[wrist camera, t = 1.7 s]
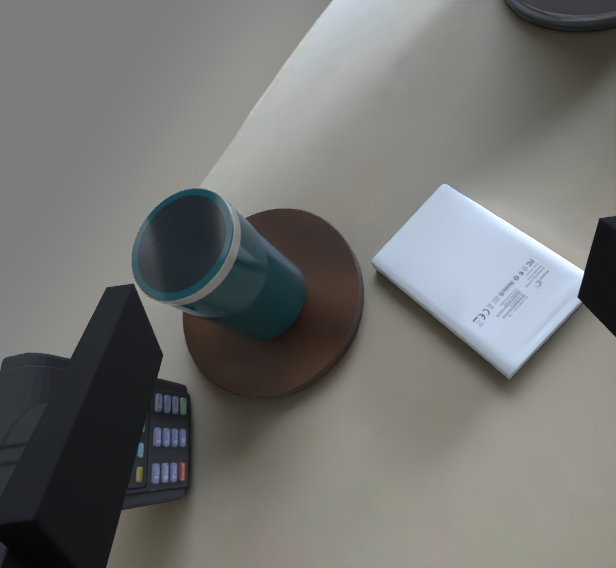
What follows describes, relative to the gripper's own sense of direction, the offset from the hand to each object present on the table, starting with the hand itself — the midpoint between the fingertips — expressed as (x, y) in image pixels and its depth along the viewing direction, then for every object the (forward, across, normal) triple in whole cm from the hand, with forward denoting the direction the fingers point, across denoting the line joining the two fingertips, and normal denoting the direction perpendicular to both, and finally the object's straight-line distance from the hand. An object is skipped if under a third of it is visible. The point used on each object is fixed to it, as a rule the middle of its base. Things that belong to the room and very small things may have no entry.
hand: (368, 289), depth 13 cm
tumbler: (+19, -5, -14) cm, 24 cm away
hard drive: (+15, +10, -12) cm, 22 cm away
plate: (+20, -5, -15) cm, 25 cm away
